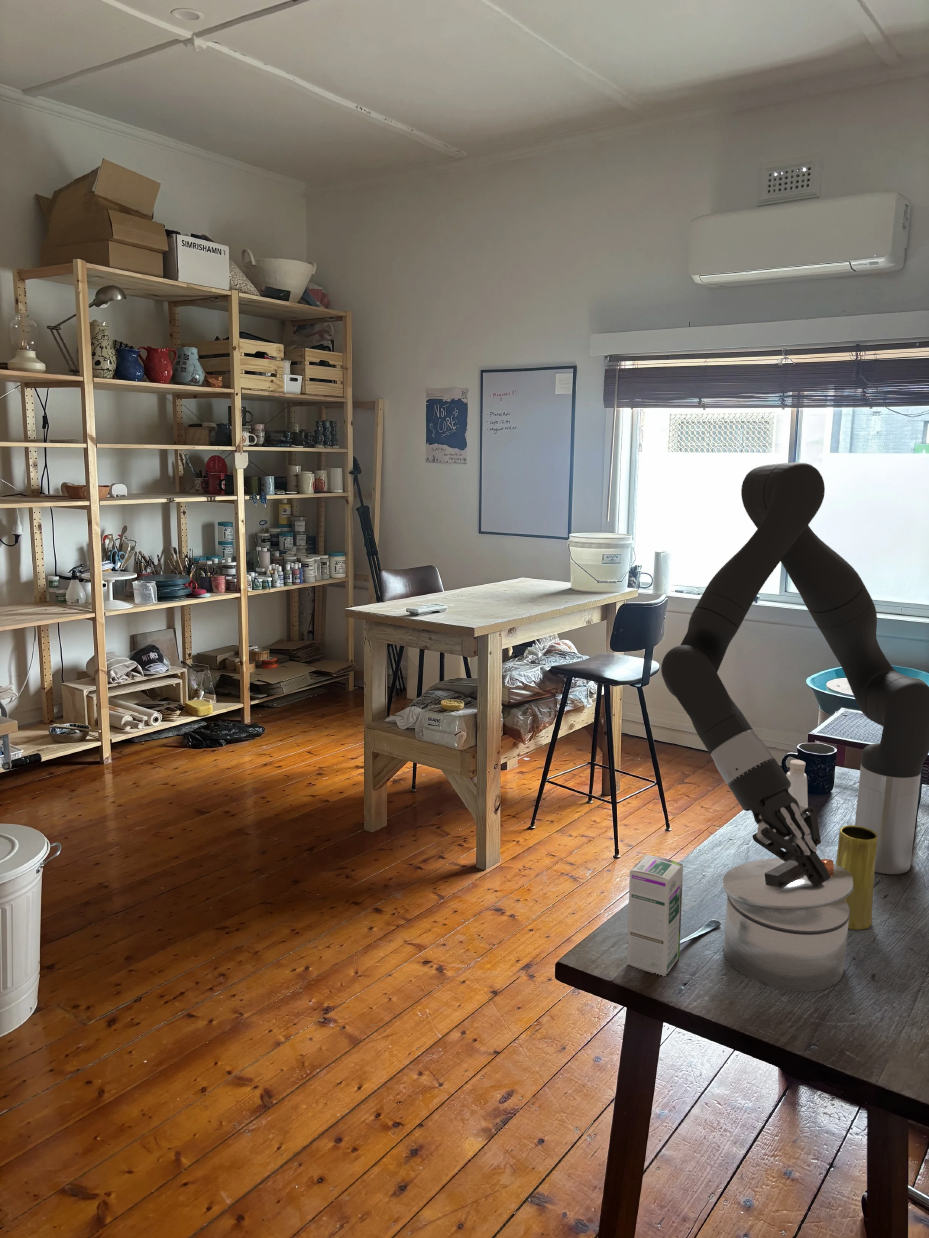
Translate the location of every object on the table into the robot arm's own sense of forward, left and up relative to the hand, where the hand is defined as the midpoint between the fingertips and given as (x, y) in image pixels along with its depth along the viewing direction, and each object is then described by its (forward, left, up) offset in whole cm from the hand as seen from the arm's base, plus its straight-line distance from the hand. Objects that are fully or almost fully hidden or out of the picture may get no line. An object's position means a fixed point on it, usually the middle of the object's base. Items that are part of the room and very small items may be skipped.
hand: (822, 882), depth 122 cm
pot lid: (0, -5, -3) cm, 6 cm away
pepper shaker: (-45, -30, -14) cm, 56 cm away
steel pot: (0, -5, -14) cm, 14 cm away
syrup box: (+15, -16, -14) cm, 26 cm away
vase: (-17, -4, -14) cm, 22 cm away
